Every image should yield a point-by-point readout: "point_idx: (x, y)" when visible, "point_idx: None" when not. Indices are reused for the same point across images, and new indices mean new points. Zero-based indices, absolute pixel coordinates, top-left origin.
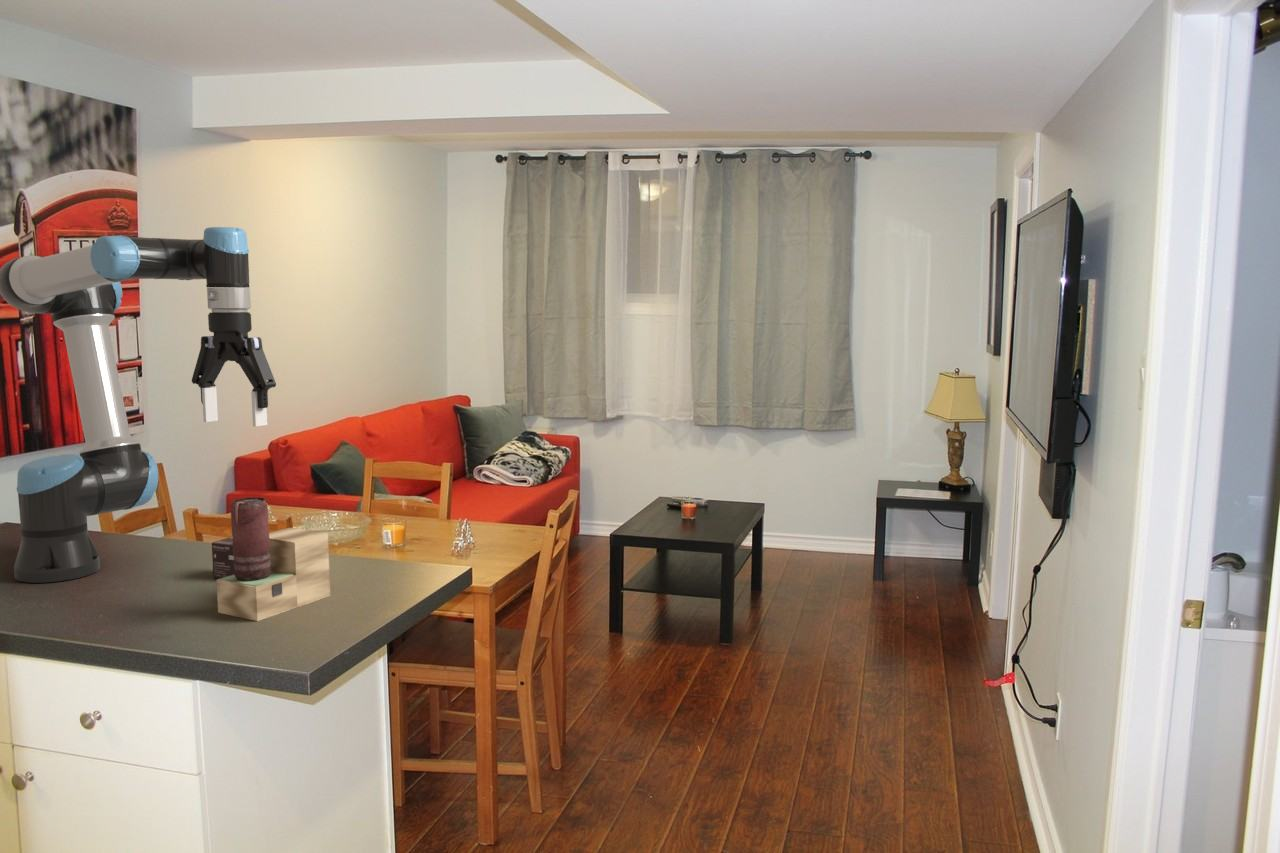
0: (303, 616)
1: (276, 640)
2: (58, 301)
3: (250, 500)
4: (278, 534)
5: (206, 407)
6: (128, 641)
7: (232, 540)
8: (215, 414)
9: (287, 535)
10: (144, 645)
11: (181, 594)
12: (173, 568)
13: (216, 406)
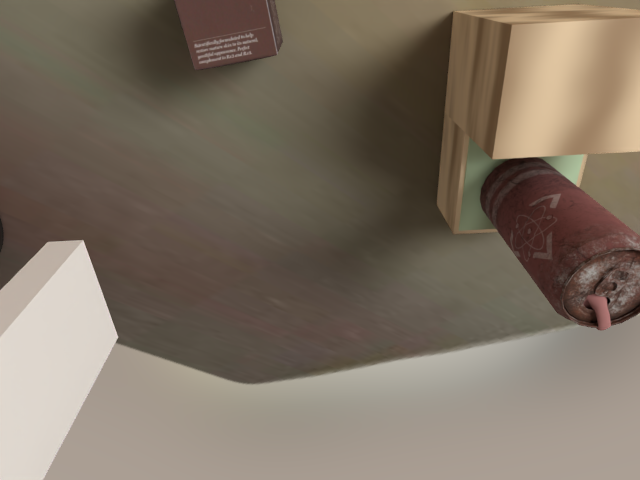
0: None
1: None
2: None
3: (608, 280)
4: (541, 112)
5: (58, 430)
6: (423, 337)
7: (218, 16)
8: (63, 294)
9: (574, 105)
10: (457, 335)
11: (275, 171)
12: (48, 51)
13: (10, 335)
